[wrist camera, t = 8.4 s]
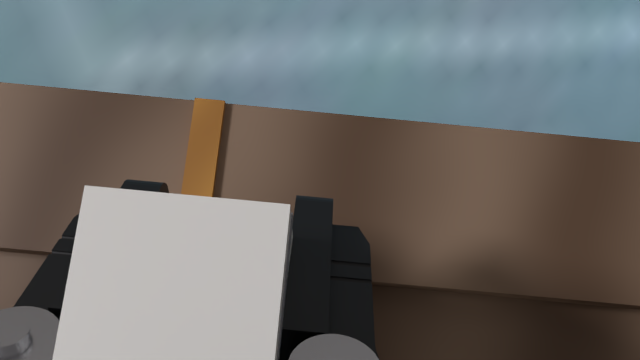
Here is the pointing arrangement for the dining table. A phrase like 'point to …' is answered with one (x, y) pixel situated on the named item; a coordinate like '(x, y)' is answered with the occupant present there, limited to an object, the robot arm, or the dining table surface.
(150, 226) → the fader tab
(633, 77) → the dining table surface
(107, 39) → the dining table surface
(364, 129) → the fader console
